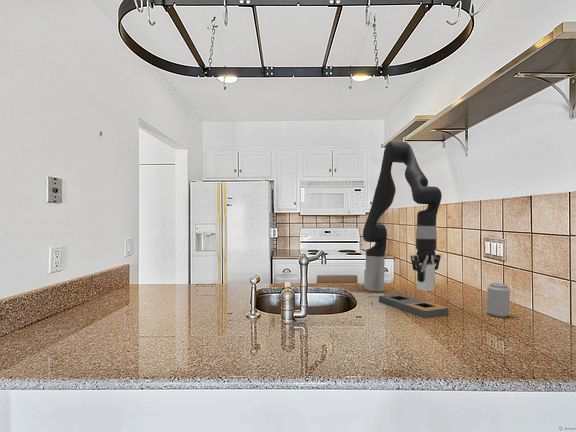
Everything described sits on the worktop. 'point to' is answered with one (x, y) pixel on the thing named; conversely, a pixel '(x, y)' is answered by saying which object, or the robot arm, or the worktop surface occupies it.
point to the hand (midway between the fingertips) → (425, 281)
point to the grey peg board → (414, 305)
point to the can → (498, 299)
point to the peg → (427, 278)
